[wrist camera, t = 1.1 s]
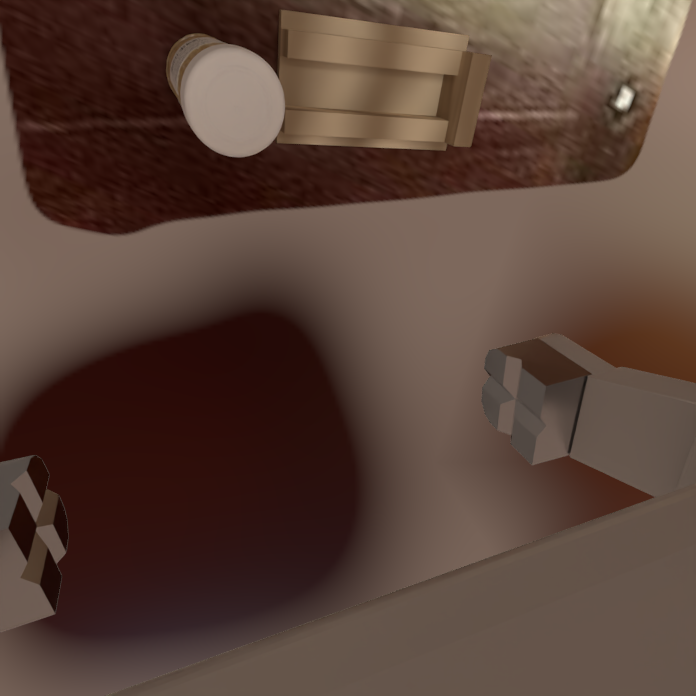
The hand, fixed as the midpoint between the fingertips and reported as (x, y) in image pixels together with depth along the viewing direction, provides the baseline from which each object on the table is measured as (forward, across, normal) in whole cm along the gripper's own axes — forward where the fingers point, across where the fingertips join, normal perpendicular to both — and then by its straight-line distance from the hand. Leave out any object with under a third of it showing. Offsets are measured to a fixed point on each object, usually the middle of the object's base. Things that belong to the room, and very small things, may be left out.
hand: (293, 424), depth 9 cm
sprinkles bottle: (+31, -2, -6) cm, 32 cm away
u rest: (+31, -14, -4) cm, 34 cm away
